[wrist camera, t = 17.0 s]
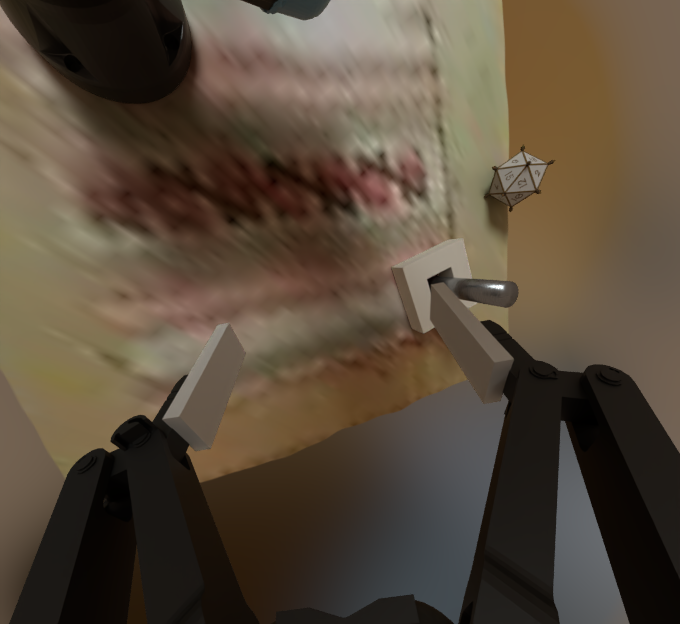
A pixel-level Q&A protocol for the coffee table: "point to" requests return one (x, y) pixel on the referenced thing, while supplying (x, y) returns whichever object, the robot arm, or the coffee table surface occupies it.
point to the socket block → (419, 268)
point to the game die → (517, 178)
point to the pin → (480, 290)
